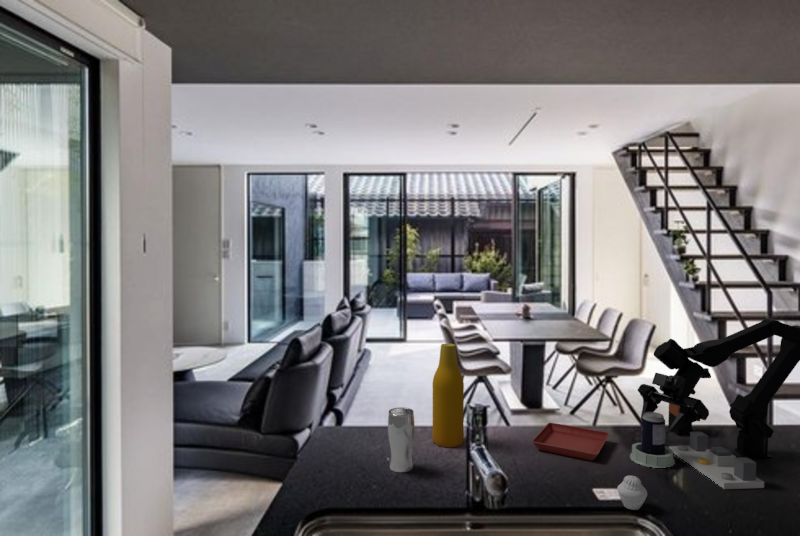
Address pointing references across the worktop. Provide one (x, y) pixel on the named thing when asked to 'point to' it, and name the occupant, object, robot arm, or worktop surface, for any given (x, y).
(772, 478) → the worktop surface
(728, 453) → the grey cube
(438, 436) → the beer bottle
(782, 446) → the worktop surface
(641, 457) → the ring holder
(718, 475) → the switch panel
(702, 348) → the robot arm
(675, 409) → the battery
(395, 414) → the beer glass
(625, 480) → the lidded jar
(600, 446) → the plant saucer
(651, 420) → the beverage can
